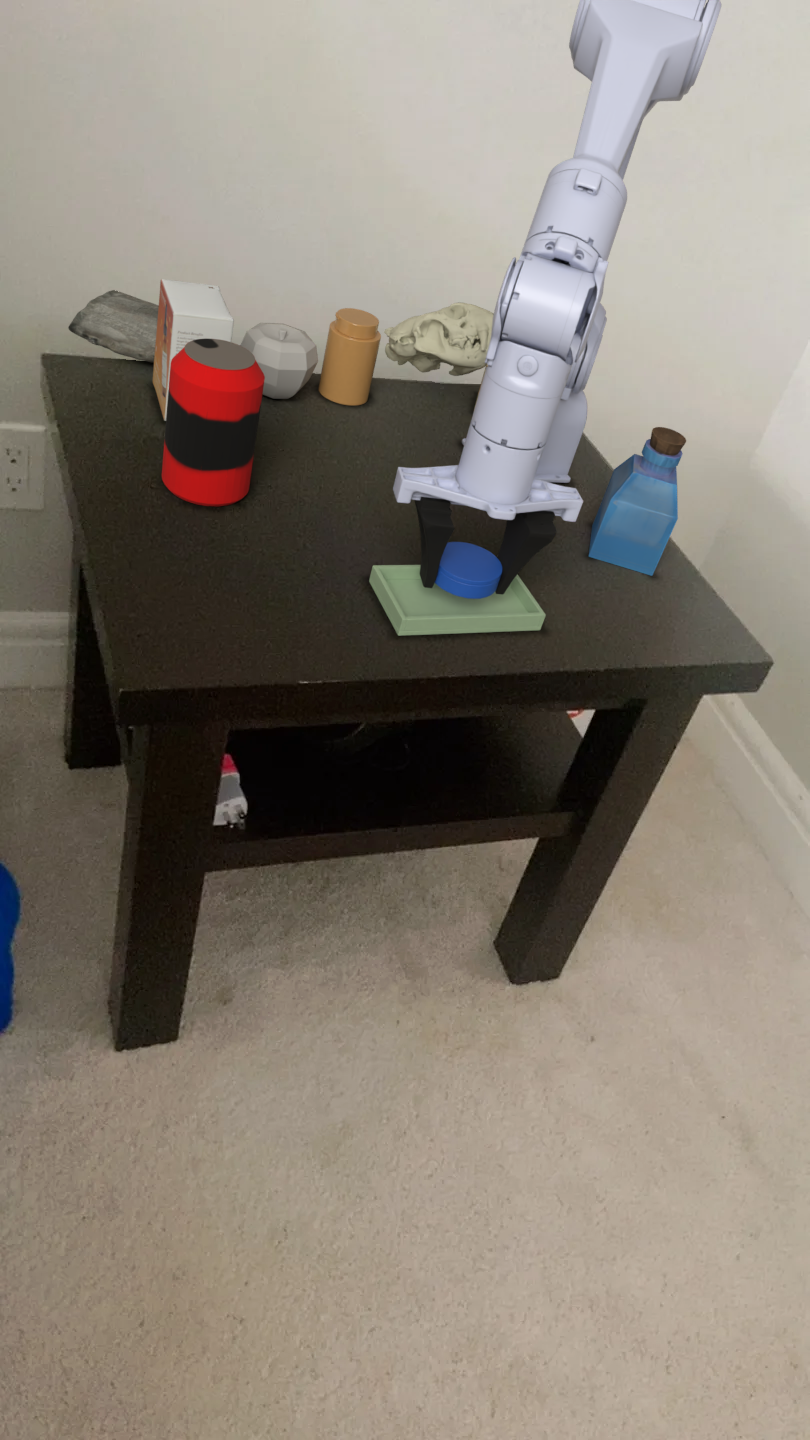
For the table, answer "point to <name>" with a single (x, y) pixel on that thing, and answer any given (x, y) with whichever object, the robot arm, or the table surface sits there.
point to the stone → (119, 325)
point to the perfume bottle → (640, 505)
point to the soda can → (211, 422)
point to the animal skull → (443, 339)
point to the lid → (468, 571)
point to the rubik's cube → (480, 385)
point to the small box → (186, 325)
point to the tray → (450, 605)
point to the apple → (282, 357)
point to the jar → (350, 357)
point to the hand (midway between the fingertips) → (461, 584)
